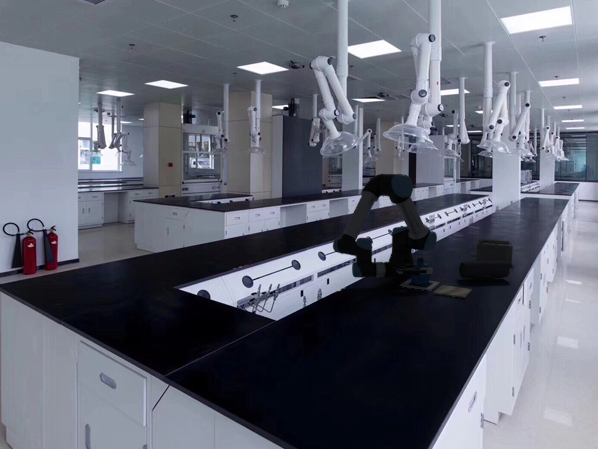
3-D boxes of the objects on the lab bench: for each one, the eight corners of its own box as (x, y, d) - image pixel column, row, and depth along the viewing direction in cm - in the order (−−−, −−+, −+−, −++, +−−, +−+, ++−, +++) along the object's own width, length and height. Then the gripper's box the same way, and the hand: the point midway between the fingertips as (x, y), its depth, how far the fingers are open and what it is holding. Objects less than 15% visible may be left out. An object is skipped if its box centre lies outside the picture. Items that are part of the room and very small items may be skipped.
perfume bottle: (419, 284, 212) (420, 259, 211) (410, 281, 218) (411, 257, 216) (429, 282, 215) (429, 258, 214) (420, 279, 221) (420, 256, 219)
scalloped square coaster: (399, 286, 215) (399, 284, 215) (410, 280, 227) (410, 278, 227) (430, 291, 206) (430, 289, 206) (439, 284, 219) (439, 282, 219)
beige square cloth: (433, 294, 202) (433, 292, 202) (442, 287, 214) (442, 285, 214) (464, 298, 194) (464, 296, 194) (472, 291, 206) (472, 289, 206)
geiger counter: (513, 240, 262) (469, 236, 275) (512, 241, 256) (467, 238, 270) (512, 263, 264) (468, 258, 277) (510, 265, 258) (466, 260, 272)
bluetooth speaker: (500, 277, 231) (501, 258, 230) (509, 281, 222) (510, 262, 221) (458, 277, 231) (458, 259, 229) (465, 282, 221) (466, 263, 220)
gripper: (379, 271, 226) (423, 270, 227) (388, 282, 205) (436, 281, 206) (379, 257, 225) (423, 256, 226) (388, 267, 204) (437, 266, 205)
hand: (429, 268), depth 216 cm, fingers closed on perfume bottle, 8 cm apart
